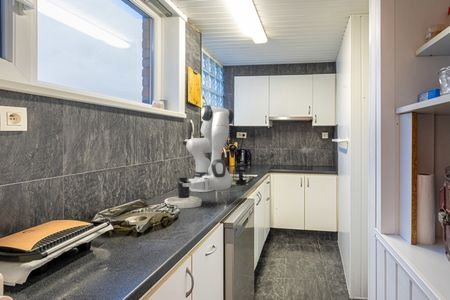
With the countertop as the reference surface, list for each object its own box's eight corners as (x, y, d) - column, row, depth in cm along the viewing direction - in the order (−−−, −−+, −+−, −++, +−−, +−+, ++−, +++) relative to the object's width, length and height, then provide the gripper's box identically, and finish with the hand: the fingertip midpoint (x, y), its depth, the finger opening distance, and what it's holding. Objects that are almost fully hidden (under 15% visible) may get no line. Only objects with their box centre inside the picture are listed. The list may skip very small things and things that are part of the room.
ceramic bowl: (160, 203, 197) (160, 198, 197) (193, 199, 207) (193, 195, 207) (171, 209, 179) (171, 204, 179) (206, 206, 188) (206, 200, 188)
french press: (248, 183, 278) (248, 156, 277) (246, 185, 269) (246, 157, 268) (234, 183, 281) (234, 156, 280) (232, 184, 271) (232, 157, 270)
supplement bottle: (175, 197, 193) (175, 177, 193) (186, 195, 197) (185, 176, 197) (181, 198, 188) (180, 178, 187) (191, 197, 192) (191, 177, 191)
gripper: (202, 175, 205) (180, 176, 202) (207, 179, 185) (183, 180, 182) (202, 185, 205) (180, 186, 202) (208, 190, 185) (183, 192, 182)
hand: (181, 184), depth 192 cm, fingers closed on supplement bottle, 7 cm apart
